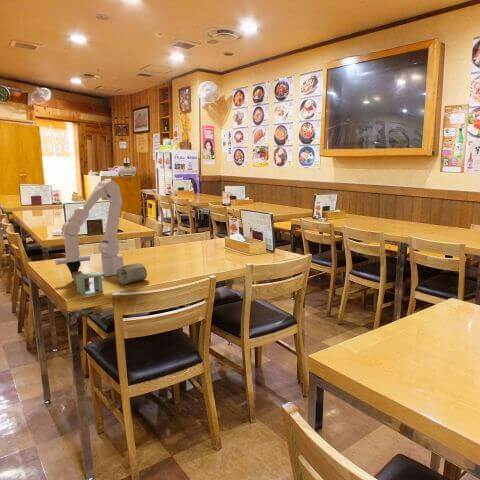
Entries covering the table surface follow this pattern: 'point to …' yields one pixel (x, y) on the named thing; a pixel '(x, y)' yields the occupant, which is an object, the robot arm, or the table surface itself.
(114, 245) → the robot arm
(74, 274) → the tall brown box
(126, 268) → the spool
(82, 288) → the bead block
